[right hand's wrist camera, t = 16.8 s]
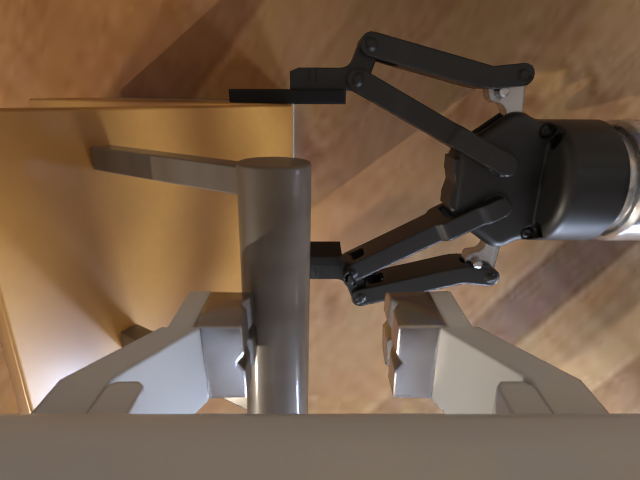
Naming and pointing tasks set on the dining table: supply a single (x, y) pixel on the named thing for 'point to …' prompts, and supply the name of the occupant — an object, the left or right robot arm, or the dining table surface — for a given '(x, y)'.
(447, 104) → the dining table surface
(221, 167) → the lid
